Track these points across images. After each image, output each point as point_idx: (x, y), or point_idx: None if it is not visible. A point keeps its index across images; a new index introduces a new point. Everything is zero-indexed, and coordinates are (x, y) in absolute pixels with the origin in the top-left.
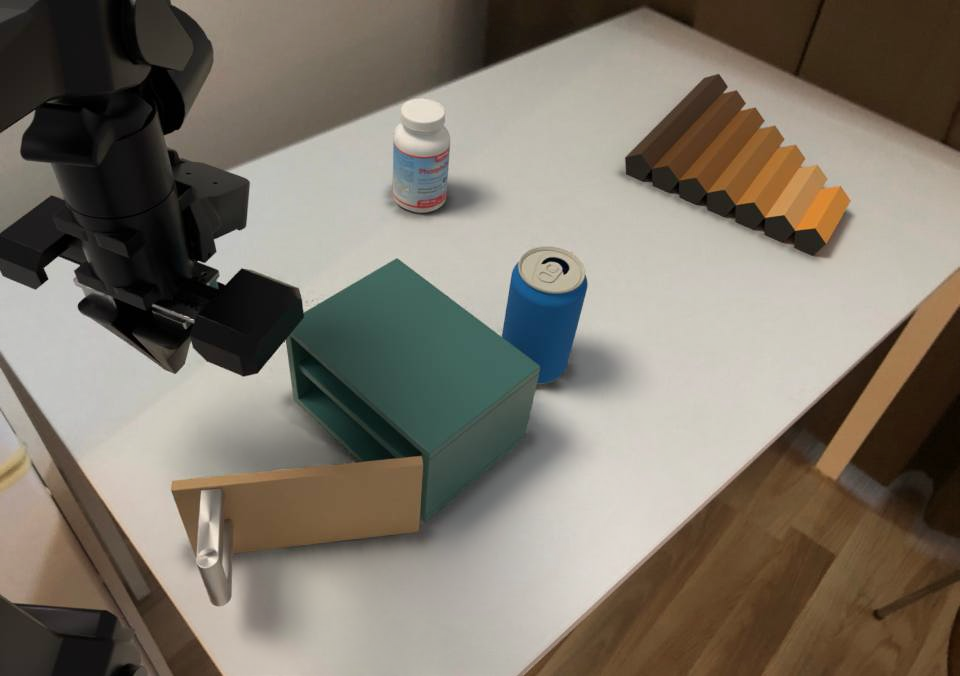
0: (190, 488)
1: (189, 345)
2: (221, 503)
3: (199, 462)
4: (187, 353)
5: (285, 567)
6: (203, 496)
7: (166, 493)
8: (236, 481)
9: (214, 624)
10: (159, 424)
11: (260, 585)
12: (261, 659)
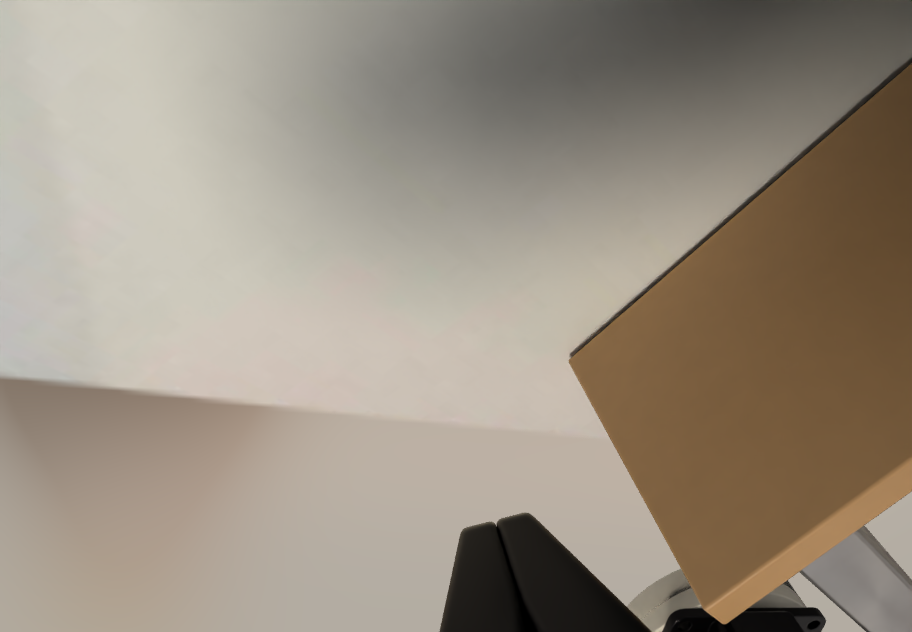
0: (771, 588)
1: (633, 615)
2: (875, 549)
3: (371, 192)
4: (580, 563)
5: None
6: (814, 569)
7: (382, 312)
8: (894, 496)
9: None
10: (147, 178)
11: None
12: None
